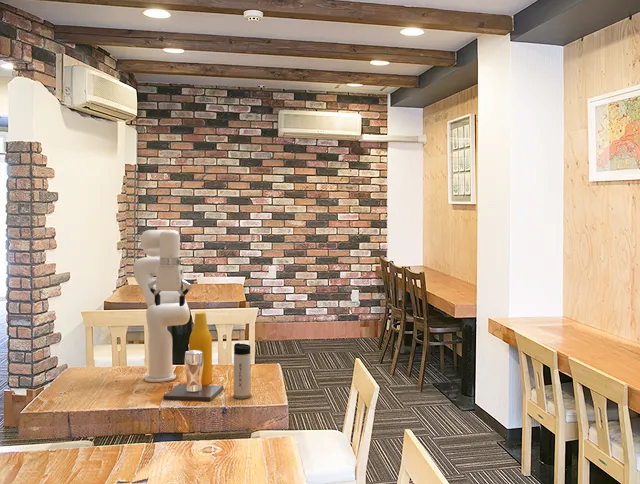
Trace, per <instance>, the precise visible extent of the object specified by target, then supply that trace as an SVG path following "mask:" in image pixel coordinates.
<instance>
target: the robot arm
mask: <svg viewBox="0 0 640 484" xmlns="http://www.w3.org/2000/svg"><path fill="white" fill-rule="evenodd" d="M180 245H181V235H180V232H179V231H178V230H175V229H148V230H147V229H146V230H145V231H143V232H142V234H141V235H140V246H141V249H142V250H143V253H144V254H145V255H147V256H144V257H140V258H138V259H136V260H135V261H134V263H133V265H132V268H133V269H132V271H133V276H134V279H135V281H136V283H137V285H138V286H139V288H140V289H141V291H142V293H143V297H144V300H145V304H146V306H147V309H146V310H145V318H146V323H147V324H146V325H147V333H148V334H147V335H148V336H147V337H148V338H147V339H148V374H146V375H145V376H144V380H145V382H149V383H164V382H170V381H173V380H175V379H177V374H176V373H174V372H173V369H174V368H175V365H174V364H173V335H172V333H171V332H170V330H168V329H167V327H173V326H182V325H183V326H184V325H186V324H188V322H189V321H190V318H191V313H190V312H191V311H190V308H189V305H188V302H187V299H186V295H187V294H188V293H189V292H190V290H191V288H192V287H193V285H192V284H191V283H189V282H188V281H186V280H185V277H184V270H183V266H182V265H181V264H183V263H184V259H181V256H180V255H181V253H180V251H181V250H180V249H181V248H180ZM185 286H186V288H185Z"/></svg>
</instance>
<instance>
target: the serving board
mask: <svg viewBox="0 0 640 484" xmlns="http://www.w3.org/2000/svg"><path fill="white" fill-rule="evenodd" d="M186 386H187V384H184V383H183V384H182V383H181V384H177V385H176V386H175V387H173V388H172V389H170V390H169V391H168V392H166V393H165V394H163V396H162V397H163V398H162V400H164V401H194V402H195V401H196V402H197V401H198V402H211V401H212V400H213V399H215V397H217V396H218V395H219V394H220V393H221V392H223V390H224V385H216V384H215V385H214V384H208V385H202V391H200V392H194V393H190V392H186Z"/></svg>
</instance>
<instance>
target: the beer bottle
mask: <svg viewBox="0 0 640 484" xmlns="http://www.w3.org/2000/svg"><path fill="white" fill-rule="evenodd" d="M207 320H208V319H207V312H204V311H199V312H198V311H197V312H195V313H194V321H193V328H192V331H191V333H190V335H189V339H188V351H190V350H201V351H203V371H202V377H201V385H211V384H212V382H213V338H212V334H211V332H210V329H209V327H208V321H207Z"/></svg>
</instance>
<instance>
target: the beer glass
mask: <svg viewBox="0 0 640 484" xmlns="http://www.w3.org/2000/svg"><path fill="white" fill-rule="evenodd" d="M184 371H185V376H186V385H187V386H186V392H190V393H194V392H200V391H202V385H201V377H202V371H203V351H201V350H190V351H189V350H187V351H185V353H184Z"/></svg>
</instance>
